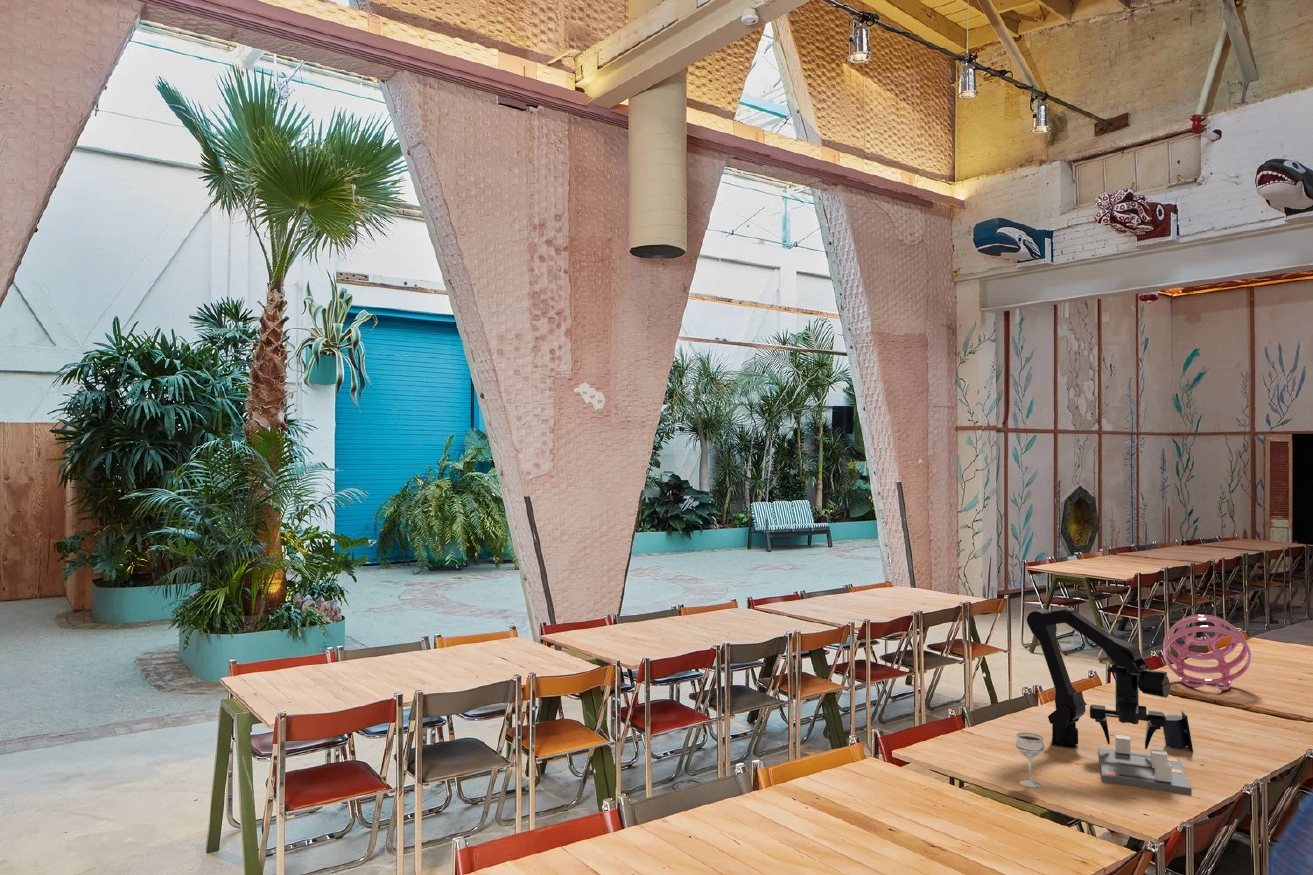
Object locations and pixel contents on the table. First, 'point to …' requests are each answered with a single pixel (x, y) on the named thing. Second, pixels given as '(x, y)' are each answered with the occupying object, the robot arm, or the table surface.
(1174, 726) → the speaker
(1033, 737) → the wineglass
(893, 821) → the table surface
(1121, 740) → the switch far
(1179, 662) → the spiral basket
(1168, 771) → the switch near
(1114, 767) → the switch board
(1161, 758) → the switch mid
